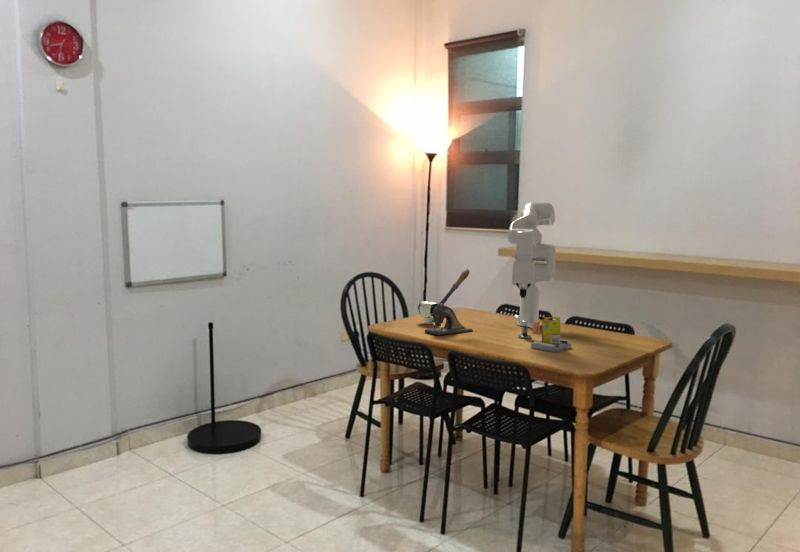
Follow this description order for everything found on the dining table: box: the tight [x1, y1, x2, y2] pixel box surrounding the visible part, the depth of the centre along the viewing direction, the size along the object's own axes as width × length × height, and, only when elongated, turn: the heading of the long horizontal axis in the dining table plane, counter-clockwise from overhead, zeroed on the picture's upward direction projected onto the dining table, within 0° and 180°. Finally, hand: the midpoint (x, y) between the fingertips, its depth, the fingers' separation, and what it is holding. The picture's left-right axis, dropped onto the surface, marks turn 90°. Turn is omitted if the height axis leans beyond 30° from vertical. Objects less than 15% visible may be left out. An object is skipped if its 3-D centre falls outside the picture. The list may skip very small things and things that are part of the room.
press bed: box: [530, 338, 572, 354], centre depth 284 cm, size 12×13×3 cm
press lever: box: [520, 320, 541, 335], centre depth 299 cm, size 4×15×5 cm, turn 16°
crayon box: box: [541, 316, 561, 344], centre depth 283 cm, size 7×3×12 cm, turn 90°
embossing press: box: [424, 268, 474, 336], centre depth 314 cm, size 11×24×30 cm, turn 124°
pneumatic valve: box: [417, 300, 439, 325], centre depth 335 cm, size 6×12×12 cm, turn 42°
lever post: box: [517, 326, 532, 340], centre depth 305 cm, size 6×6×6 cm
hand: (523, 297), depth 302 cm, fingers closed
